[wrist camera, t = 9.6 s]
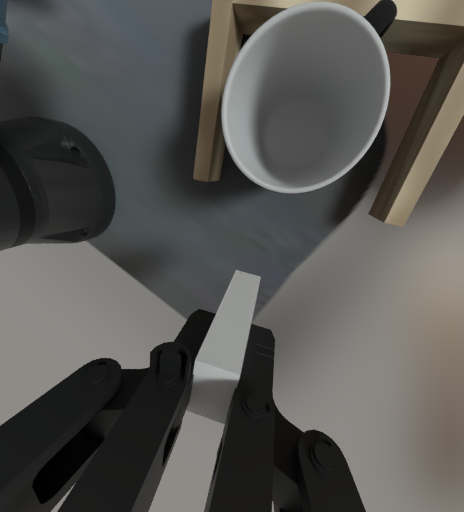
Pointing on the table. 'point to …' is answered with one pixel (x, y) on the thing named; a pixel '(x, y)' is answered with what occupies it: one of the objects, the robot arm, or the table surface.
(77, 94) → the table surface
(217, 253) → the table surface
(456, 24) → the bay
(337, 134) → the mug
